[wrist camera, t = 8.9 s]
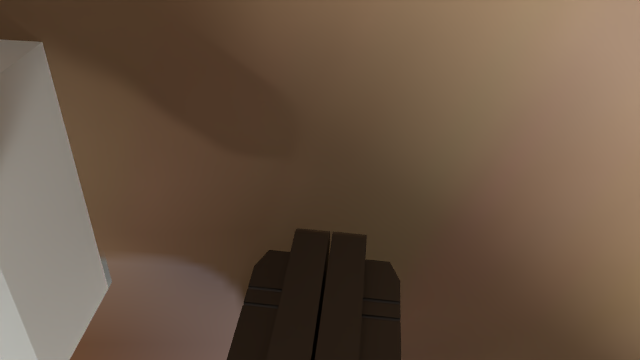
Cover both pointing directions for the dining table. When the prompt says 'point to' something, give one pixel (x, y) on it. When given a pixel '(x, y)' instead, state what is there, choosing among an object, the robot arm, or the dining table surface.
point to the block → (41, 218)
